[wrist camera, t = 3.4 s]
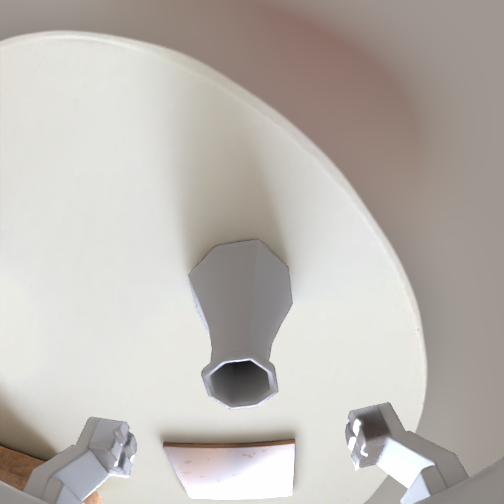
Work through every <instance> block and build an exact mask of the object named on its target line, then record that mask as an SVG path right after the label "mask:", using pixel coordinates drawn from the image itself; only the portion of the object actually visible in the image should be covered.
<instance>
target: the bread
mask: <svg viewBox="0 0 504 504" xmlns="http://www.w3.org/2000/svg"><path fill="white" fill-rule="evenodd" d="M45 462H46V461H42V460H39V459H36V458H33V457H30V456H28V455H26V454H23V453H20V452H17V451H13V450H10V449H7V448H5V447H2V446H0V481H2V482H4V483H6V484H8V485H10V486H12V487H14V488H16V489H18V490H20V491H22V492H23V490H24V488H25V486H26V484H27V482H28V480H29V478H30V475H31V473H32V471H33V469H35V468H37V467H38V466H40V465H42V464H43V463H45ZM101 501H102V498H101V497H100V495H99V494H98V493H97V491H96V490H94V491H93V492H92V493H91V494H90V495H89V496H88V497H87V498H85V499H84V500H83V501H82V502H83V503H84V504H101Z"/></svg>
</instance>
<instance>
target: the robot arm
mask: <svg viewBox="0 0 504 504" xmlns="http://www.w3.org/2000/svg"><path fill="white" fill-rule="evenodd" d="M348 419H349V421H350V422H349V423H348V424H347V425H346V430H345V435H346V441H347V445H348V447H349V448H351V449H352V450H353V451H352V455H351V457H352V460H353V462H354V465H355V468H356V469H358V468H362V467H367V466H371V465H375V464H377V465H378V466H379V467H380V468H382V469H383V470H384V471H386V472H387V473H388V474H390V475H391V476H392V477H394V478H395V479H396V480H398V481H399V482H400V483H402V484H403V485H404V486H406V487H407V488H408V490H407V492H406V493H405V495H404V496H403V497H402V499H401V500H400V503H401V504H504V457H503V458H501V459H499V460H498V461H496V462H495V463H493V464H492V465H490V466H488V467H486V468H485V469H483V470H481V471H480V472H478V473H476V474H474V475H473V476H471V477H469V476H468V474H467V473H466V471H465V469H464V467H463V466H462V464H461V462H460V461H459V459H458V457H457V456H456V454H455V453H453V452H450V451H448V450H446V449H444V448H442V447H440V446H438V445H436V444H434V443H432V442H430V441H428V440H426V439H424V438H422V437H420V436H419V435H417V434H415V433H413V432H411V431H405V429H404V427H403V425H402V424H401V422H400V420H399V418H398V416H397V414H396V413H395V411H394V409H393V407H392V405H391V404H390V403H389V402H387V403H383V404H378V405H373V406H369V407H365V408H361V409H356V410H351V411H350V412H349V415H348ZM129 428H130V427H129V426H128V424H127V422H123V421H116V420H109V419H103V418H97V417H90V418H89V419H88V420H87V422H86V424H85V426H84V428H83V430H82V433H81V435H80V437H79V439H78V441H77V443H76V445H71V446H70V447H68V448H67V449H65V450H64V451H62V452H61V453H59V454H58V455H56V456H54V457H53V458H51V459H50V460H48V461H46V462H45V463H43V464H42V465H40V466H38V467H37V468H35V469H33V471H32V473H31V475H30V478H29V480H28V482H27V484H26V486H25V488H24V490H23V492H22V491H20V490H18V489H16V488H14V487H12V486H10V485H8V484H6V483H4V482H2V481H0V504H84V503H83V502H82V501H83V500H84V499H85V498H87V497H88V496H89V495H90V494H91V493H92V492H93V491H94V490H95V489H96V488H97V487H98V486H99V485H101V484H102V483H103V482H104V481H105V480H106V479H107V478H108V477H109V476H110V475H114V476H121V477H128V478H129V476H130V472H131V469H132V463H131V461H130V460H131V459H132V458H133V457H135V454H136V450H137V443H136V439H135V437H134V435H133V434H132V433H130V432H129Z"/></svg>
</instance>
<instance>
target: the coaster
mask: <svg viewBox="0 0 504 504" xmlns="http://www.w3.org/2000/svg"><path fill="white" fill-rule="evenodd" d="M163 448H164V450H165V452H166V454H167V456H168V458H169V460H170V462H171V464H172V466H173V468H174V470H175V472H176V473H177V475H178V477H179V479H180V481H181V483H182V485H183V486H184V488H185V490H186V492H187V493H188V495H189V497H190V498H203V499H250V498H268V497H280V496H289V495H292V488H293V474H294V459H295V439H293V440H283V441H273V442H260V443H241V444H184V443H166V442H164V443H163Z"/></svg>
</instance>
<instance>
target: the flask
mask: <svg viewBox="0 0 504 504" xmlns="http://www.w3.org/2000/svg"><path fill="white" fill-rule="evenodd" d="M188 276H189V280H190V284H191V288H192V292H193V296H194V300H195V304H196V308H197V311H198V314H199V316H200V318H201V320H202V322H203V324H204V326H205V328H206V330H207V332H208V334H209V337H210V339H211V346H212V353H211V361H210V363H209V364H208V365H207V366H206V367H205V368H203V370H202V372H201V376H202V379H203V382H204V385H205V388H206V390H207V393H208V396H209V397H211V398H213V399H214V400H216V401H217V402H219V403H221V404H222V405H224V406H226V407H227V408H229V409H237V408H247V407H255V406H259V405H260V404H262V403H263V402H265V401H266V400H267V399H269V398H270V397H272V396H273V395H274V394H276V393H277V392H278V385H277V378H276V372H275V367H274V365H273V364H272V363H271V362H269V358H270V352H271V346H272V343H273V341H274V338H275V336H276V334H277V332H278V330H279V328H280V326H281V324H282V322H283V321H284V319H285V317H286V315H287V314H288V312H289V310H290V308H291V306H292V304H293V303H292V294H291V286H290V277H289V269H288V266H287V265H285V264H284V263H283V262H282V261H281V260H280V259H279V258H278V257H277V256H276V255H275V254H274V253H273V252H272V251H271V250H270V249H268V248H267V247H266V246H265V245H264V244H263V243H262V242H261V241H260V240H259V239H255V240H249V241H243V242H236V243H230V244H224V245H218V246H215V247H214V248H213V249H212V250H211V251H210V252H209V253H208V254H207V255H206V256H205V257H204V259H203V260H202V261H201V262H200V263H199V264H198V265H197V266H196V267H195V268H194V269H193V270H192V271H191V272H190V273H189V274H188Z"/></svg>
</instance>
